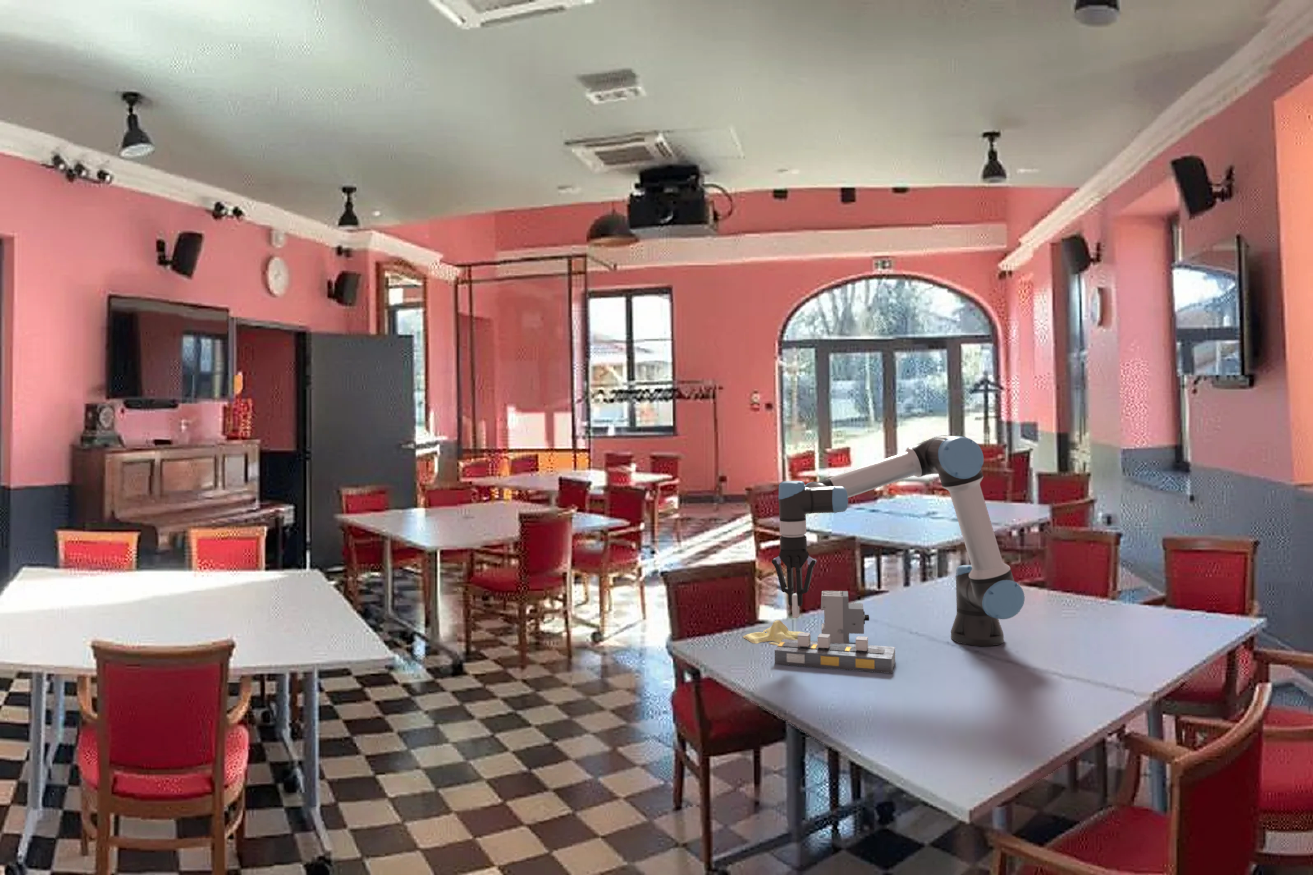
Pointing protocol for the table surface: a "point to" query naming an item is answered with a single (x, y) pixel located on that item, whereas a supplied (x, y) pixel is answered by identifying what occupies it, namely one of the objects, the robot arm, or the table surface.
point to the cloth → (772, 634)
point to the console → (836, 656)
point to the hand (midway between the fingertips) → (796, 616)
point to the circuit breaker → (841, 616)
